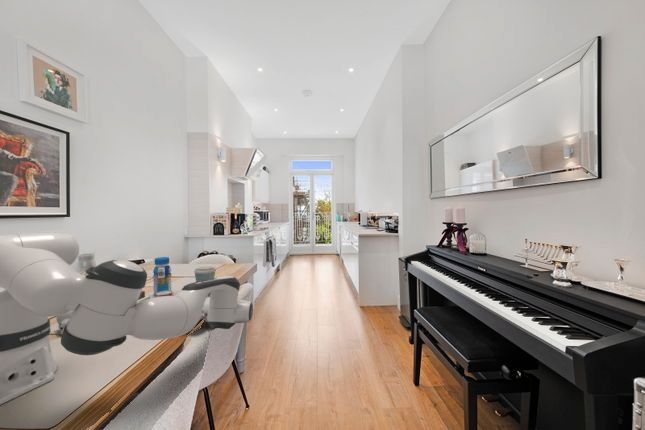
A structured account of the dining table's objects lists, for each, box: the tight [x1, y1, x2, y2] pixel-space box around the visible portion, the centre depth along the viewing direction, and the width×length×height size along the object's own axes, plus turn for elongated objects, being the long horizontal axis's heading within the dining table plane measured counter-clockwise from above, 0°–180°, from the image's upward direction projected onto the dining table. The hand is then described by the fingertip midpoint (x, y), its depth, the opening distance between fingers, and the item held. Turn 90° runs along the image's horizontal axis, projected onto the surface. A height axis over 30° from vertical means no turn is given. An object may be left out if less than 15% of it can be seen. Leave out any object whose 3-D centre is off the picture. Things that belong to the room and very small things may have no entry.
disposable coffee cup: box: [193, 266, 217, 297], centre depth 147 cm, size 11×11×15 cm
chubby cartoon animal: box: [55, 310, 73, 336], centre depth 103 cm, size 7×12×8 cm, turn 27°
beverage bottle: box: [152, 256, 172, 298], centre depth 146 cm, size 8×8×20 cm
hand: (180, 309), depth 111 cm, fingers closed
